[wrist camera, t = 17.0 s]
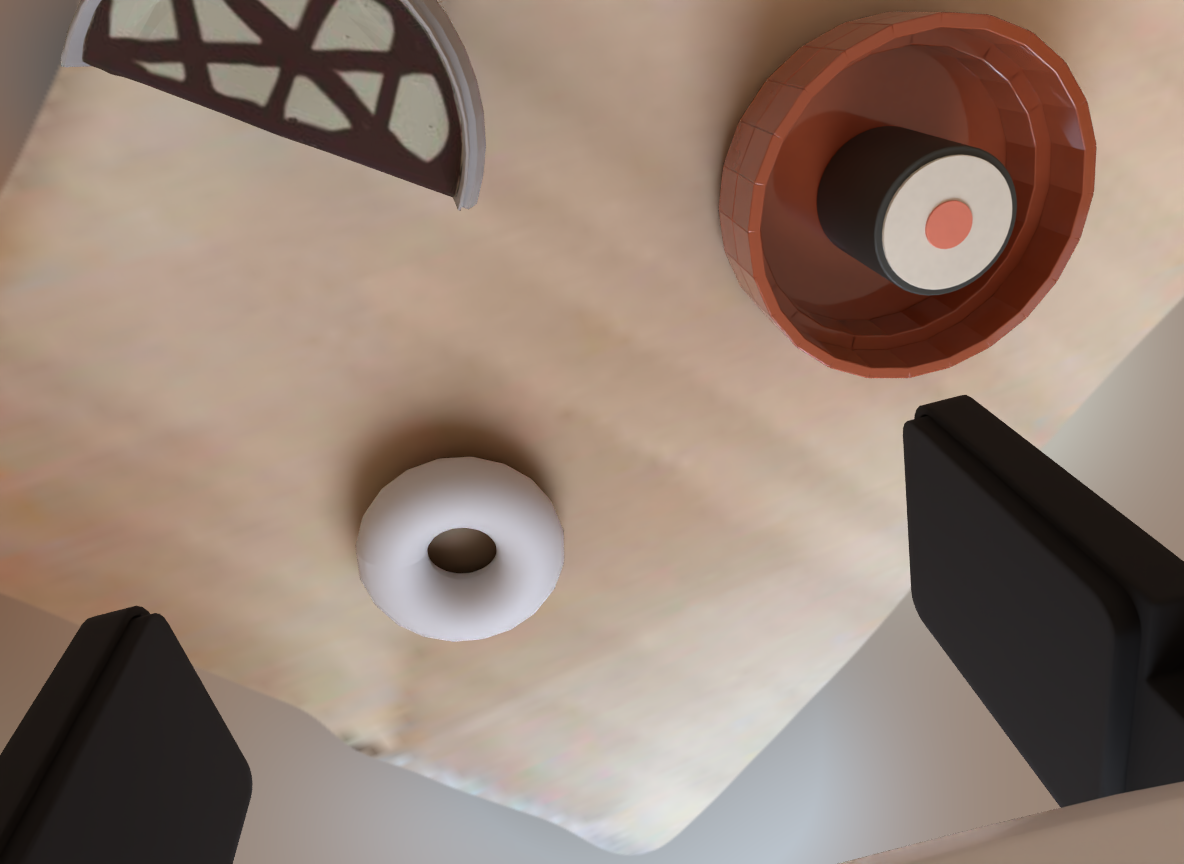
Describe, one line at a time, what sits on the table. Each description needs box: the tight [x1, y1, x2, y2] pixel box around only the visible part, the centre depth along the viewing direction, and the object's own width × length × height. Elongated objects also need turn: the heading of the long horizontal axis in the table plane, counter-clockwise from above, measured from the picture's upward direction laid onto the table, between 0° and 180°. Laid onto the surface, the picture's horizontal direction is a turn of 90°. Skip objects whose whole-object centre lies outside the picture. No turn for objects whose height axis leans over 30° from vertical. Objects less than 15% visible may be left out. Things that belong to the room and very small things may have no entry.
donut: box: [356, 457, 564, 642], centre depth 42 cm, size 10×4×10 cm
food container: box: [60, 0, 486, 211], centre depth 28 cm, size 12×6×10 cm, turn 68°
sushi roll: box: [817, 126, 1017, 296], centre depth 35 cm, size 6×6×6 cm
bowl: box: [719, 12, 1096, 378], centre depth 36 cm, size 14×14×5 cm
